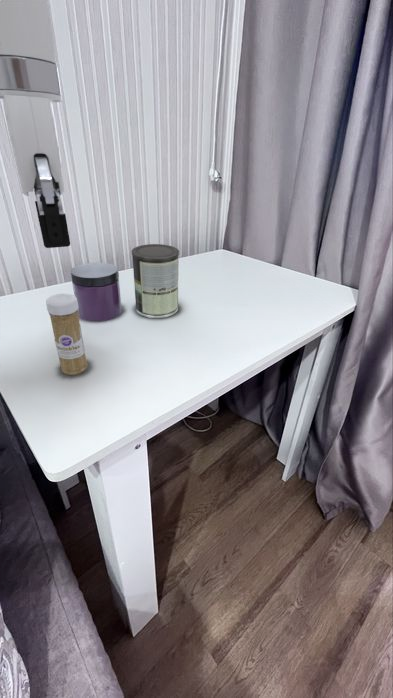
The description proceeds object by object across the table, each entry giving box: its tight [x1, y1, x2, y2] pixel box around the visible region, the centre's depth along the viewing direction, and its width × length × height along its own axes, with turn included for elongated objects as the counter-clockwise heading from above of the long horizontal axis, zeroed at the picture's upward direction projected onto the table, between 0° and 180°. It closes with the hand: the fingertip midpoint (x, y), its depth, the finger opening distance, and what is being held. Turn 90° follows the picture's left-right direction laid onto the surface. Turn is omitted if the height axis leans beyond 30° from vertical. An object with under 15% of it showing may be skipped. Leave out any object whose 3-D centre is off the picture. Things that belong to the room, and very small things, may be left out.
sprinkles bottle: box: [45, 292, 89, 376], centre depth 55 cm, size 5×5×14 cm
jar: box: [71, 277, 123, 322], centre depth 75 cm, size 10×10×10 cm
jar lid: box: [69, 261, 120, 287], centre depth 72 cm, size 10×10×2 cm
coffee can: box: [131, 243, 180, 319], centre depth 76 cm, size 10×10×14 cm
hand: (54, 237), depth 47 cm, fingers open, 9 cm apart
